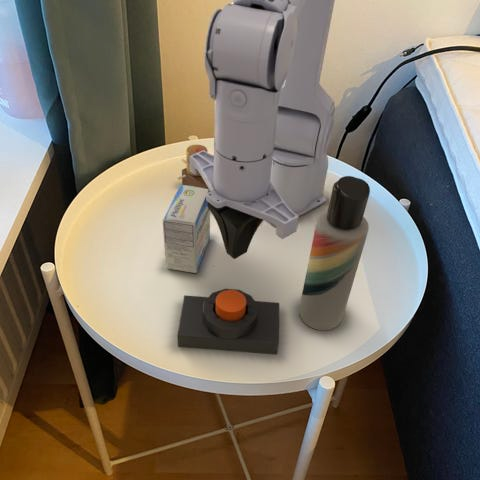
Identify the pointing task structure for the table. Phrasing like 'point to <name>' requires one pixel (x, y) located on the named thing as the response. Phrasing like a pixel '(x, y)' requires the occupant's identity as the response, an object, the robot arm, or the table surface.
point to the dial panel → (192, 179)
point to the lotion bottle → (335, 254)
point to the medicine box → (186, 229)
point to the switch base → (229, 326)
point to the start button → (230, 305)
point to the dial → (190, 151)
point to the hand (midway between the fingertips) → (236, 252)
